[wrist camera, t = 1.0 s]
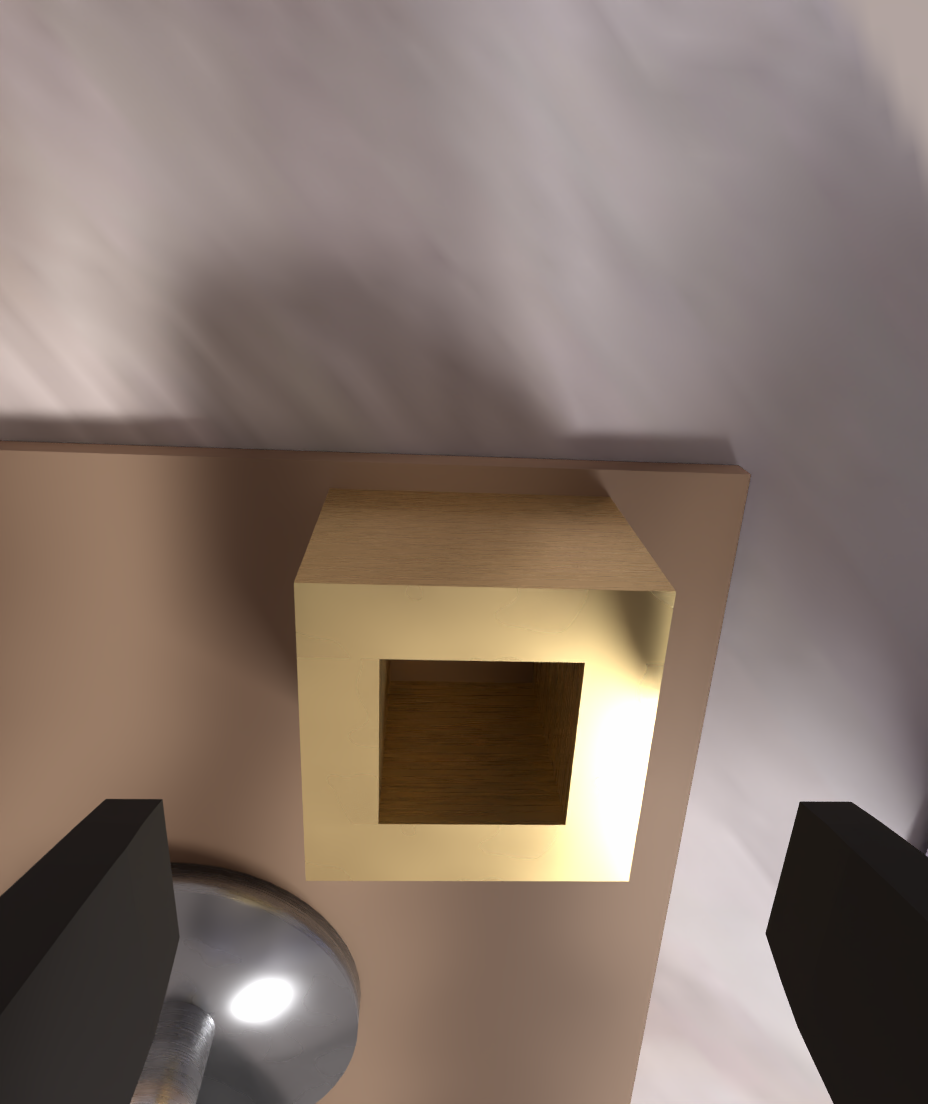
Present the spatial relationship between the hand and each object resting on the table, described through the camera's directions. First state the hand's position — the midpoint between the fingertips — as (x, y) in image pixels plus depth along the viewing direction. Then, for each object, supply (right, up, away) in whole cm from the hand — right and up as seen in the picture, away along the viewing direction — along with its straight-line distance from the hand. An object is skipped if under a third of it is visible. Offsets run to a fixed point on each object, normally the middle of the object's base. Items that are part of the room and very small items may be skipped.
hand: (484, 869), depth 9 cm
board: (-6, -3, +8) cm, 10 cm away
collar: (0, +2, +6) cm, 6 cm away
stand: (-7, -7, +9) cm, 13 cm away
